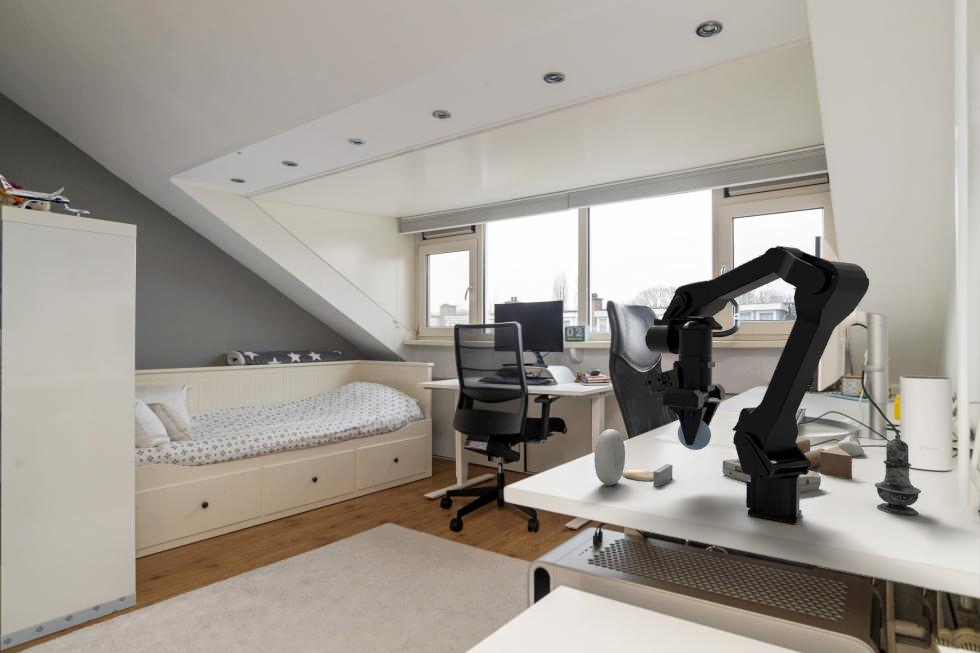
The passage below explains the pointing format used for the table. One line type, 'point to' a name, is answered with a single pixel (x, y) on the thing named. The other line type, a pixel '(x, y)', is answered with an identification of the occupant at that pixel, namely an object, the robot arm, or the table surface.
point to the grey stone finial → (897, 481)
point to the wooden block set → (827, 459)
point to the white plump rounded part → (609, 457)
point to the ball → (697, 437)
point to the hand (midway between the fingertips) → (694, 442)
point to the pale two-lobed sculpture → (851, 445)
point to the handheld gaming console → (735, 471)
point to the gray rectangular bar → (662, 475)
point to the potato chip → (639, 475)
